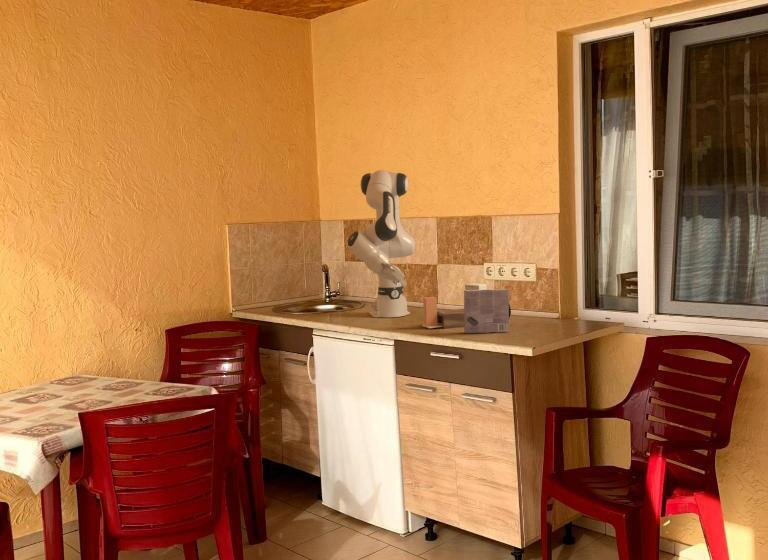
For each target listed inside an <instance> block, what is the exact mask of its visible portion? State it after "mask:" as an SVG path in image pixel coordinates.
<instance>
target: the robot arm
mask: <svg viewBox="0 0 768 560" xmlns="http://www.w3.org/2000/svg"><path fill="white" fill-rule="evenodd" d="M359 186H360V189H361V192H362V194H363V195H364V196H365V200H366V203H367V205H368V206H369V207H370V208H372V209H374V210H375V211H376V212H375V215H376V219H375V221H373V222H372V223H371V224H369V225H367V226H366V227H364V228H363V229H361V230H359V231H358V230H356V231H354V232H353V233H352V234H351V235H350V236H349V237H348V240H347V246H348V249H349V250H350V251H351V253H353V255H355V256H356V258H358V259H359V260H360V261H362V262H363V263H364V265H365V266H366V267H367V269H369V271H371V272H372V273H374V274H377V277H378V289H377V296H376V298H375V300H374V301H373V302H372V303H371V308H372V309H373V310H372V311H369V315H370V316H371V317H373V318H399V317H404V316H407V315H410V314H411V312H410V311H408V305H407V298H406V296H405V295H403V294H404V287H406V286H407V285H408V282H406V280H405V279H404V277H405V274H404V273H403V272H402V270H401V269H400V267H398V266H396V265H395V264H392V263H390V262H389V261H390V259H393V258H394V259H396V258H397V259H398V258H405V257H408V256H412V255H413V254H414V253H415V250H416V241H415V239H414V237H413V236H411V234H409V233H408V232H406V231H405V229H404V228H403V227H404V226H403V225H402V223H401V215H400V214H401V213H400V199H399V198H401V197H402V196H404V195H405V194H406V193H407V192H408V190H409V179H408V176H407V175H406V173H402V172H390V171H386V170H382V169H380V170H376V171H374V172H373V173H371V172H369V173H365V174H364V175H362V176H361V180H360V184H359Z"/></svg>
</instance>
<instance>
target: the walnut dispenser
mask: <svg viewBox="0 0 768 560" xmlns="http://www.w3.org/2000/svg"><path fill="white" fill-rule="evenodd" d="M437 320H438V323H443V327H442V329H444V330H445V329H456V327H457V328H464V308H457V309H447V310H437Z"/></svg>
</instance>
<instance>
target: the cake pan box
mask: <svg viewBox="0 0 768 560" xmlns="http://www.w3.org/2000/svg"><path fill="white" fill-rule="evenodd" d="M463 309H464V327H463V328H464V329H463V331H464V333H465V334H493V333H492V332H496V333H508V332H507V331H509V332H510V319H511V315H512V314H511V313H512V308H511V304H510V290H509V289H508V288H502V289H487V290H465V289H464V290H463ZM490 332H491V333H490Z"/></svg>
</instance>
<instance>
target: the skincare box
mask: <svg viewBox="0 0 768 560" xmlns="http://www.w3.org/2000/svg"><path fill="white" fill-rule="evenodd" d="M487 287H488V285H487V284H486V283H478V282H477V283H474V282H472V283H466V284H464V290H488V288H487Z"/></svg>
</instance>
